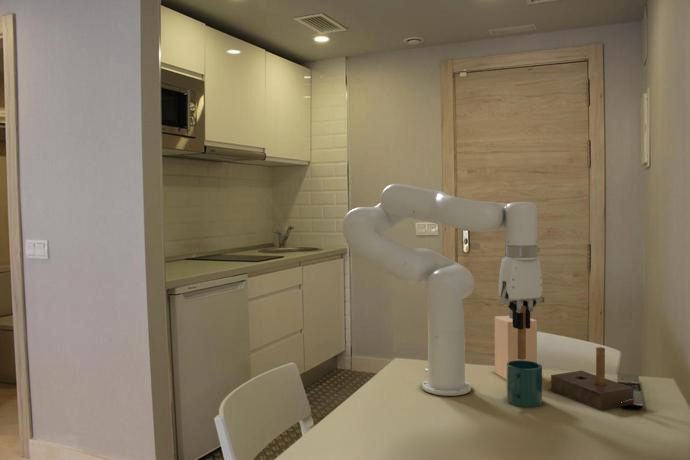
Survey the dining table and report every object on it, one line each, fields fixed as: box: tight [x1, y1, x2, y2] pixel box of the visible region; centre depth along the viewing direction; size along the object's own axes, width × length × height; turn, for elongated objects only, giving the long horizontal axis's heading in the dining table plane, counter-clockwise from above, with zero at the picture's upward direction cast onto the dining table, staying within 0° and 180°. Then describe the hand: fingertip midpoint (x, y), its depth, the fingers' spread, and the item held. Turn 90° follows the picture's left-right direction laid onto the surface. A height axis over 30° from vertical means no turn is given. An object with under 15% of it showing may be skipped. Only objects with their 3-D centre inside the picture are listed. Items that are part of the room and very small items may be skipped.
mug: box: [506, 360, 543, 408], centre depth 139 cm, size 12×8×9 cm
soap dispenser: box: [494, 296, 545, 381], centre depth 162 cm, size 13×9×22 cm
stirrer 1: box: [518, 305, 526, 360], centre depth 141 cm, size 1×1×13 cm
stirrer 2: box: [595, 346, 606, 387], centre depth 140 cm, size 1×1×13 cm
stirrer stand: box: [550, 370, 634, 411], centre depth 143 cm, size 16×10×4 cm, turn 22°
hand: (521, 327), depth 141 cm, fingers closed on stirrer 1, 1 cm apart
